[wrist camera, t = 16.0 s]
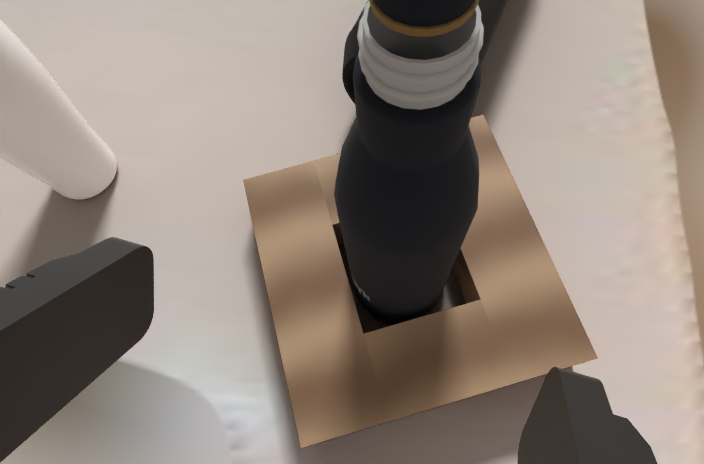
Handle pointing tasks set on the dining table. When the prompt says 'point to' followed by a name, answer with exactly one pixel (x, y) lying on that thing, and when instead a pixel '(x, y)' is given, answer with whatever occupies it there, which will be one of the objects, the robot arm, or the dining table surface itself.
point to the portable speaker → (491, 11)
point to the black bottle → (410, 152)
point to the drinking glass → (47, 127)
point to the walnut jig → (417, 334)
